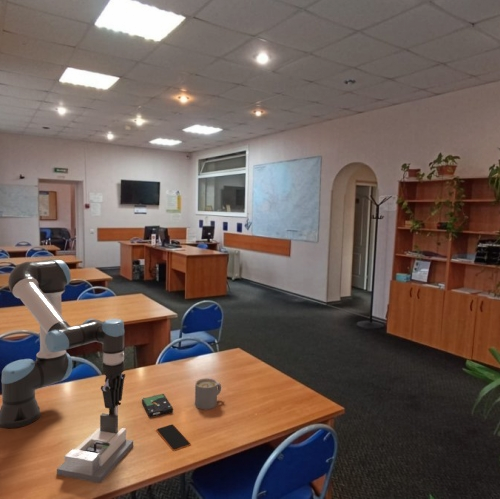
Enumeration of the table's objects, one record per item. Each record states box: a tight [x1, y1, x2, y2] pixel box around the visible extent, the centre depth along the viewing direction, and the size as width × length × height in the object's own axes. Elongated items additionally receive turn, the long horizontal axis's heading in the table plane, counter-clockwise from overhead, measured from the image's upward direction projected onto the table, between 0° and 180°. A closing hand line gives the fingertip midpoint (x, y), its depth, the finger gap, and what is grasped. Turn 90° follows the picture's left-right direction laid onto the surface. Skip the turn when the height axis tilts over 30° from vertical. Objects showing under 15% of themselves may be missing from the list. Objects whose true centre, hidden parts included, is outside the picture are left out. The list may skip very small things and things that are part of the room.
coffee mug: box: [194, 377, 222, 410], centre depth 181 cm, size 13×10×10 cm
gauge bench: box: [56, 426, 134, 484], centre depth 138 cm, size 16×21×6 cm
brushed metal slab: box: [64, 448, 99, 476], centre depth 129 cm, size 10×4×5 cm, turn 78°
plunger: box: [91, 413, 119, 449], centre depth 142 cm, size 6×7×10 cm
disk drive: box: [141, 393, 174, 419], centre depth 175 cm, size 10×3×15 cm
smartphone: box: [155, 423, 192, 452], centre depth 153 cm, size 8×17×1 cm, turn 36°
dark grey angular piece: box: [86, 441, 109, 453], centre depth 136 cm, size 8×2×5 cm, turn 78°
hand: (113, 422), depth 147 cm, fingers closed
